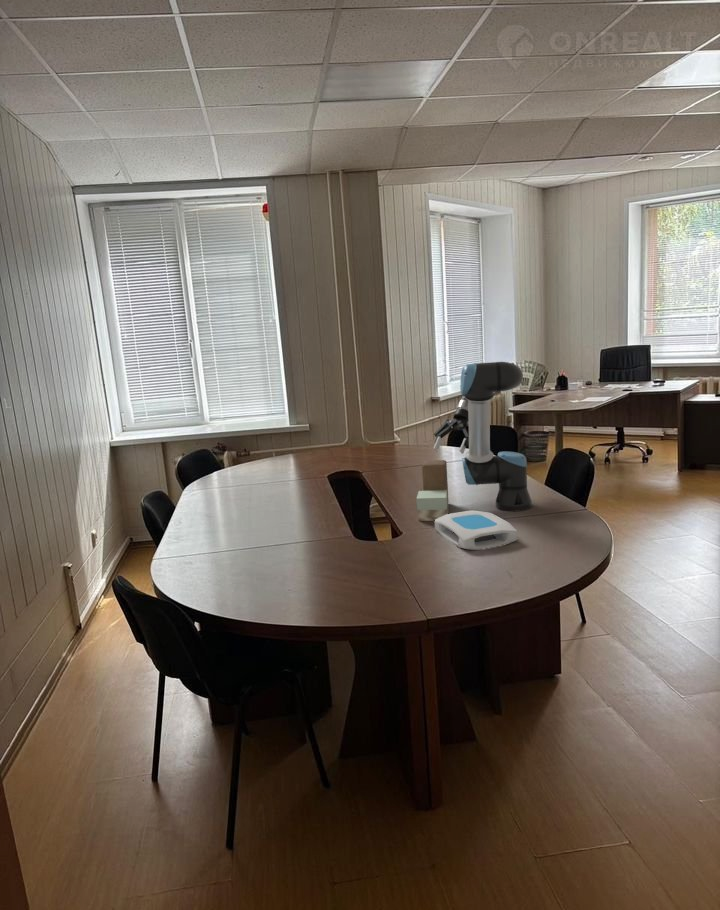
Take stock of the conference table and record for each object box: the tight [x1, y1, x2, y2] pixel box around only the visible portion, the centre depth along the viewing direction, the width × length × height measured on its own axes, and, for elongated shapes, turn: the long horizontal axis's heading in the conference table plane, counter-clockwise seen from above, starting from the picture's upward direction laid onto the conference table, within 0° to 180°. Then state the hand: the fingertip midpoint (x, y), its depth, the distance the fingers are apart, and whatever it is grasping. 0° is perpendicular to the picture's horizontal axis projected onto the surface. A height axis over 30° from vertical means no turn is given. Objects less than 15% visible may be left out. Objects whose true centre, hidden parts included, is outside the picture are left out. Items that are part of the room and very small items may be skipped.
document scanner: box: [434, 510, 518, 551], centre depth 248 cm, size 21×28×6 cm
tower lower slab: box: [417, 502, 450, 522], centre depth 277 cm, size 12×12×5 cm
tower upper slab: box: [416, 490, 449, 511], centre depth 276 cm, size 12×12×5 cm
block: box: [421, 459, 449, 498], centre depth 290 cm, size 10×10×20 cm
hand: (448, 451), depth 297 cm, fingers open, 13 cm apart
